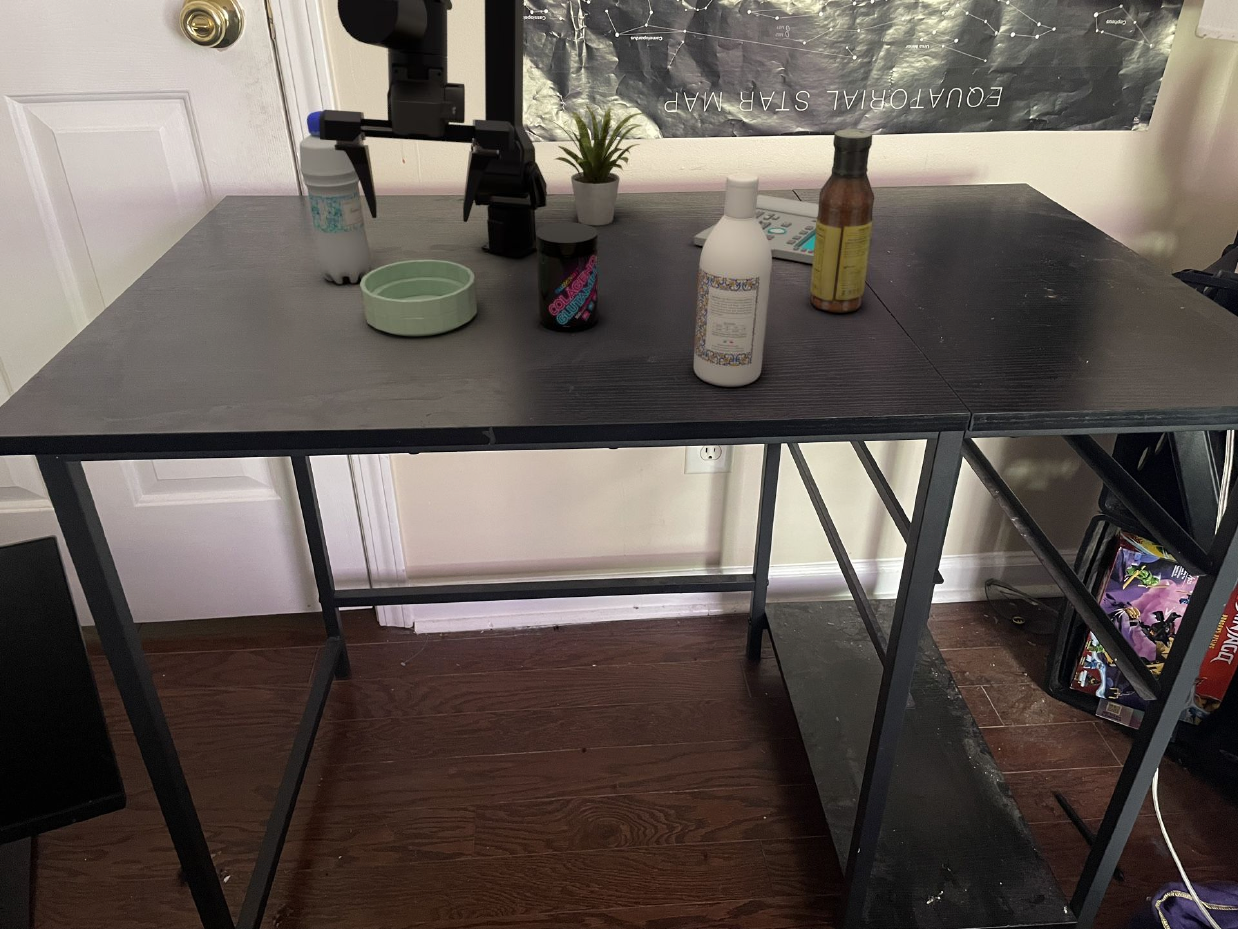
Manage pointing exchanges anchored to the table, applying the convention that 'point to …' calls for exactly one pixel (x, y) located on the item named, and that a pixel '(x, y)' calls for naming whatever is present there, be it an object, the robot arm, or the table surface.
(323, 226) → the bottle
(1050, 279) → the table surface
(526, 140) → the robot arm
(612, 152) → the house plant
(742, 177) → the bath foam
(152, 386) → the table surface
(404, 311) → the bowl
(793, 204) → the office telephone
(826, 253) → the sauce bottle
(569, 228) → the supplement container
